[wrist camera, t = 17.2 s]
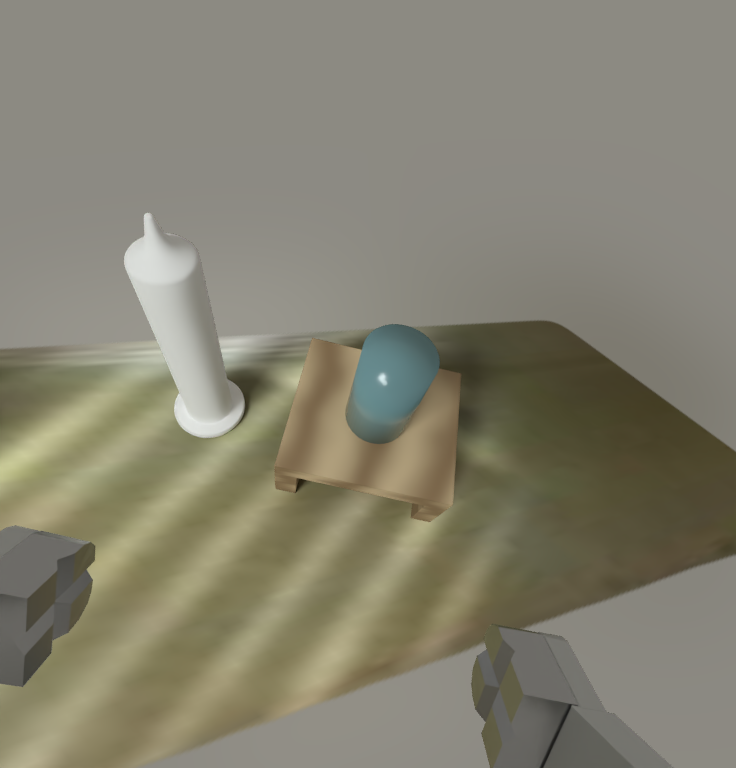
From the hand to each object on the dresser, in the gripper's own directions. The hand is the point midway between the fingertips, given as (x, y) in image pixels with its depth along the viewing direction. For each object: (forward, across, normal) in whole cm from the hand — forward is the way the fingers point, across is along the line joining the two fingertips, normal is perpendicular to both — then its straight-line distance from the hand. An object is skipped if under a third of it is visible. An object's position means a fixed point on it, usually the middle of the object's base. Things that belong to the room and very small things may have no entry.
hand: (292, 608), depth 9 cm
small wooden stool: (+37, -4, +11) cm, 38 cm away
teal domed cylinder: (+32, -4, +6) cm, 32 cm away
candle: (+37, +13, +11) cm, 40 cm away
